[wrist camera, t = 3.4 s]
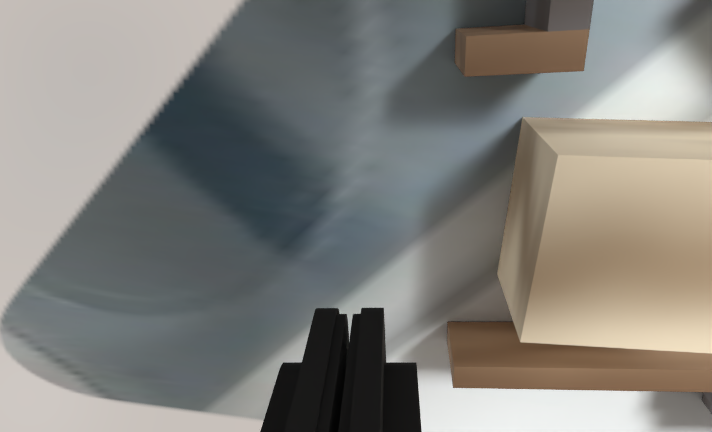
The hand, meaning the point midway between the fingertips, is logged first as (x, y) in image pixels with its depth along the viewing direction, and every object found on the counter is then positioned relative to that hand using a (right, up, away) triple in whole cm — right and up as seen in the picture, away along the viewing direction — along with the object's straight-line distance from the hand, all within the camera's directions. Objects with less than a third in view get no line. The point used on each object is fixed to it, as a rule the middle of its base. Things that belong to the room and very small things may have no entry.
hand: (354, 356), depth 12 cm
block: (+8, +4, +5) cm, 11 cm away
